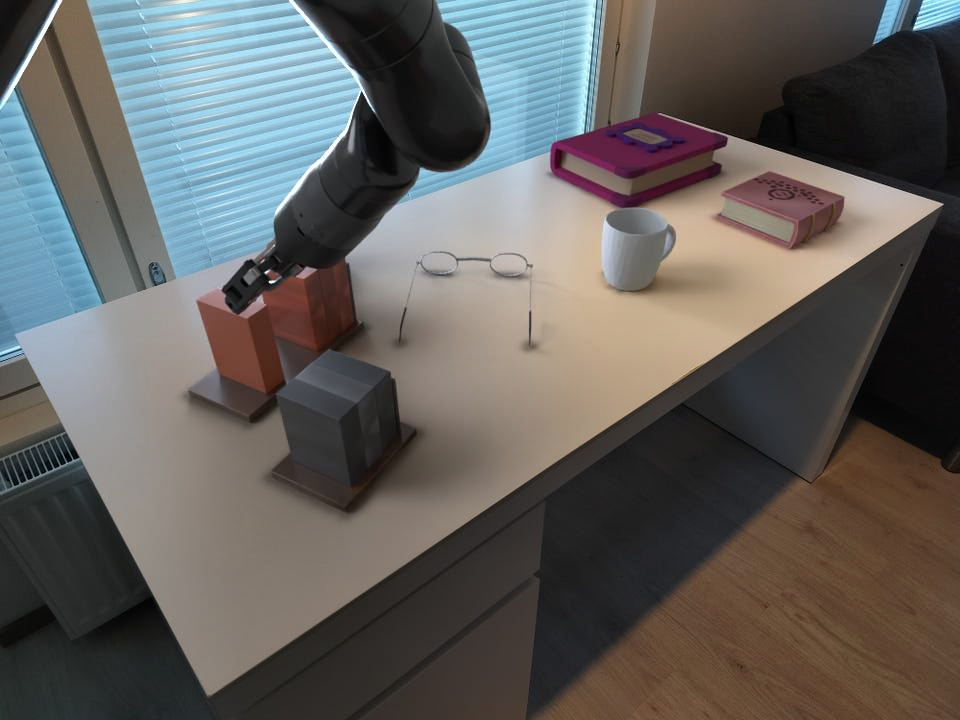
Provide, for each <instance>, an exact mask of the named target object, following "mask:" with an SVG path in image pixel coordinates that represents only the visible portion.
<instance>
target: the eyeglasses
mask: <svg viewBox="0 0 960 720" xmlns="http://www.w3.org/2000/svg"><path fill="white" fill-rule="evenodd" d="M429 254H446V255H449V256H452V258H454V260H455V261H456V266H455V267H454V268H453V269H452V270H449V271H444V272H437V271H433V270H432V271H431V270H429V269H426V268H425V267H424V265H423V259H424V257H425V256H427V255H429ZM504 255H506V256H507V255H511V256H517V257H520V258H522V259H523V261H524V262H525V263H526V266H525V268H524V269H523V271H521V272H518V273H513V274H506V273H501V272H499V271H496V270H495V269H494V268H493V267H492V261H493V260H494V259H495V258H497V257H498V256H504ZM464 261H465V262H467V261H477V262H489V268H490V269H491V271H492V272H493V273H495V274H497V275H498V276H503V277H516V276H518V277H519V276H521V275H522V274H524V273H526V271H527V270H528V268H530V269H529V270H530V271H529V310H528V311H529V312H528V347H531V341H532V340H531V337H532V269H533V266H534V264H532V263H530V264H529V263H528V260H527V258H526V257H525V256H524V255H522V254H520V253H515V252H499V253H497V254H495V255H493V256H492V257H491V258H489V257H479V256H465V257H464V256H462V257H457V256H456V255H454V254H453V253H451V252H450V251H444V250H430V251H428V252H426V253H424V254H422V256H421V257H420V260H416V261H415V262H414V263H415V267H414V268H415V269H414V272H413V275H412V281H411V283H410V287H409V292H408V295H407V300H406V303H405V306H404V308H403V312H402V316H401V321H400V324H399V337H398V341H399V343H401V339H402V331H403V325H404V321H405V316H406V313H407V310H408V309H407V307H408V303H409V298H410V295H411V290H412V286H413V284H414V279H415V274H416V271H417V267H418V266H419V265H420V266H421V268H422V269H423V271H425V272H427V273H429V274H433V275H447V274H450V273H453V272H454V271H455V270H457V268H458V266H459V262H464Z"/></svg>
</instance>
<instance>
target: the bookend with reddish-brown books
mask: <svg viewBox="0 0 960 720" xmlns="http://www.w3.org/2000/svg"><path fill="white" fill-rule="evenodd" d="M263 261H264V260H263ZM263 261H262V262H263ZM262 262H261V263H262ZM267 275H268V276H269V277H270V278H271V280H273V281H276V280H277V279H278V278H280V277H281V276H278V275H276V274H275V273H274V272H273V271H272V270H271V271H270V272H268V273H267ZM352 282H353V281H352V275H351V268H350V262H347V261H346V257H345V258H344V259H343V260H342V261H341V262H340V263H339V264H337V265H336V266H334V267H331V268H328V269H313V268H309V267H306V268H305V269H304V270H303V271H302V272H301V273H300V274H299V275H297V276H296V277H292V276H291V277H290V278H289V279H288V280H286V281H285V282H284V283H283V284H282V285H280V286H279V287H278V288H277V289H276V290H273V291H270V292H268V291H265V292H264V293H263V294H262V295H261V296H262V301H263V304H266V305H267V306H268V310H269V314H270V318H271V323H272V327H273V331H274V335H275V340H276V344H277V348H278V352H279V357H280V361H281V365H282V370H283V374H284V378H285V380H283V381H282V382H281V383H280V384H279V385H277V386H276V387H275V388H274V389H272V390H271V391H270V392H269V393H268V394H266V393H263V392H261V391H258V390H256V389H254V388H251V387H249V386H246V385H244V384H242V383H239V382H237V381H234V380H232V379H229V378H227V377H225V376H222V375H220V374H219V373H218V370H217V368H216V369H214V370H213V371H211V372H210V373H209V374H207V375H206V376H204V377H203V378H201V379H200V380H199V381H197V382H196V383H195V384H193V385H192V386H191V387H189V388H188V389H187V391H188V395H189V396H190V397H192V398H194V399H196V400H198V401H201V402H203V403H206V404H208V405H210V406H212V407H214V408H217V409H219V410H220V411H223V412H225V413H228V414H230V415H232V416H234V417H237V418H239V419H241V420H243V421H246V422H248V423H252V422H253V421H254V420H255V419H257V418H258V417H260V416H261V414H262V413H264V412H265V411H267V410H268V409H269V408H270V407H271V406H272V405H273V404H274V403H276V402H278V401H277V397H276V393H277V392H278V391H279V390H281V389H282V388H283V387H284V386H285V385H287V384H288V383H289V382H290V381H291V380H293V379H294V378H295V377H296V376H298V375H299V374H300V373H301V372H302V371H304V370H305V369H306V368H307V367H308V366H310V365H311V364H312V363H313V362H314V361H316V360H317V359H318V358H319V357H320V356H322V355H323V354H324V353H325V352H326V351H328V350H329V349H331V350H334V351H336V352H338V350H339V349H340V348H342V347H343V346H344V345H345V344H346V343H347V342H349V341H350V340H351V339H352V338H354V336H356V335H357V334H358V333H360V332H361V331H362V330H363V329H364V328H365V324H364V321H362V320H361V319H358V317H357V311H356V309H357V308H356V304H355V303H356V302H355V295H354V290H353V283H352Z"/></svg>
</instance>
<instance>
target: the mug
mask: <svg viewBox="0 0 960 720" xmlns="http://www.w3.org/2000/svg"><path fill="white" fill-rule="evenodd" d="M601 235H602V236H601V263H602V271H603V274H604V277H605V280H606V282H607V283H608V284H609V285H610V286H612V287H613V288H615V289H617V290H619V291H625V292H636V291H640V290H644V289H645V288H648V286H649V285H650V284H651V283H652V282H653V280H654V279H655V277H656V276H657V272H658V270H659V268H660V265H661V263H662V262H663V261H664V260H665V259H667V258H668V257H669V256H670V254H671V253H672V252H673V249H674V248H675V245H676V242H677V233H676V229H675V228H674V227H673V225H671V224H670V223H668V220H667V219H666V218H665V217H664V216H663V215H662V214H660V213H658V212H656V211H654V210H651V209H649V208H644V207H632V208H618V209H614V210H612V211H609V212H608V213H607V214H606V216H605V218H604V221H603V228H602V234H601Z"/></svg>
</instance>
